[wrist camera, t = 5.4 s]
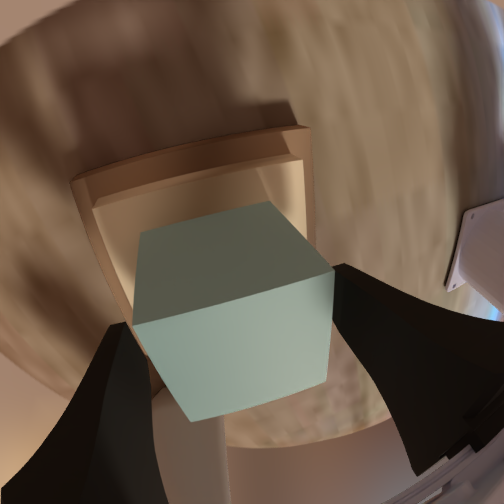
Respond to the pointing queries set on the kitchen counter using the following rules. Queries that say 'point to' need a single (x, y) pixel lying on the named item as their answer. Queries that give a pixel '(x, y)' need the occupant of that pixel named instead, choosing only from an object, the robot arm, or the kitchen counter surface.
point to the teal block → (233, 309)
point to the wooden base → (192, 193)
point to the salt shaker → (189, 454)
